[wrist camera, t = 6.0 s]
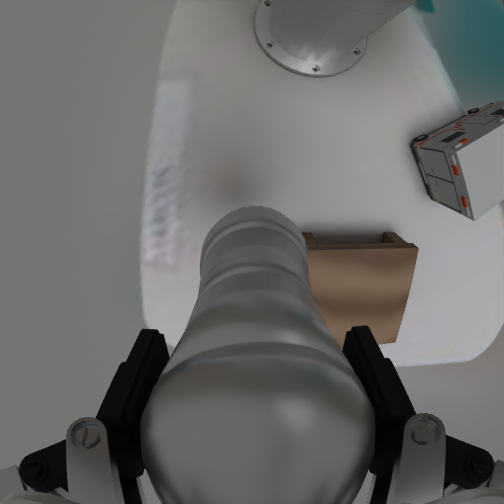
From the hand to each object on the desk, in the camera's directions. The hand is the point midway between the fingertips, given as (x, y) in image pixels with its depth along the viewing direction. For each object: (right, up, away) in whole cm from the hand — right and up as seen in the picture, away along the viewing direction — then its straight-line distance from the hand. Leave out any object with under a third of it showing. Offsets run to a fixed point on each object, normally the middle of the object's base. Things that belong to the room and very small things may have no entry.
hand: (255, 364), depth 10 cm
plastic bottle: (0, +4, +10) cm, 11 cm away
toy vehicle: (+28, +18, +20) cm, 38 cm away
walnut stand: (+12, +1, +26) cm, 29 cm away
